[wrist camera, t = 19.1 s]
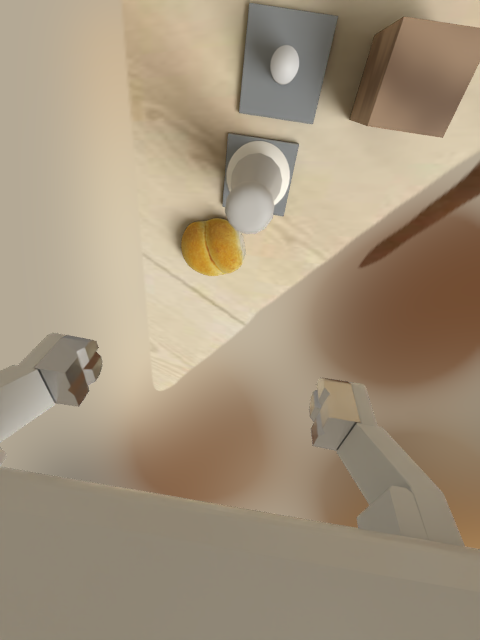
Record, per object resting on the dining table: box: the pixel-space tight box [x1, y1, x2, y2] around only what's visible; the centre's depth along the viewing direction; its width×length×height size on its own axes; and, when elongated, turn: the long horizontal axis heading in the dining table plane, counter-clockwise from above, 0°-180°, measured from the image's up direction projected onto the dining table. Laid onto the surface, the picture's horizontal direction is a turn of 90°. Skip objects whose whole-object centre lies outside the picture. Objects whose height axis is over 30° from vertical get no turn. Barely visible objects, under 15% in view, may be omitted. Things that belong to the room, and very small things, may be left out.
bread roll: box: [181, 218, 246, 276], centre depth 39 cm, size 8×9×4 cm
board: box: [239, 3, 338, 124], centre depth 26 cm, size 8×8×6 cm
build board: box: [223, 133, 299, 216], centre depth 34 cm, size 8×8×1 cm
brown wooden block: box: [349, 17, 480, 138], centre depth 25 cm, size 6×6×8 cm
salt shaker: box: [225, 153, 282, 234], centre depth 29 cm, size 6×6×13 cm
